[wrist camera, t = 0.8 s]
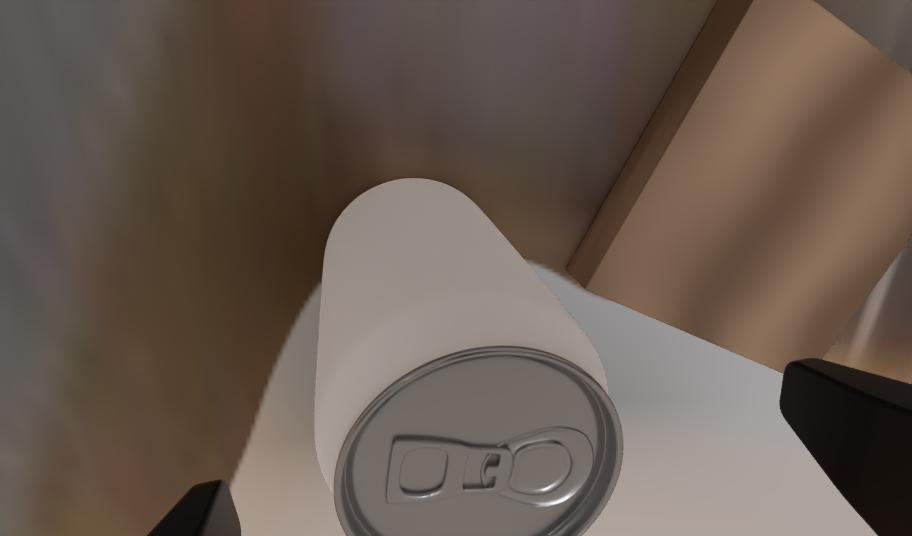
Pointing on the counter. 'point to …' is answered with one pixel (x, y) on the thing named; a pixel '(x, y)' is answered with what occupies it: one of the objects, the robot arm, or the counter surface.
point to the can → (453, 379)
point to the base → (762, 186)
